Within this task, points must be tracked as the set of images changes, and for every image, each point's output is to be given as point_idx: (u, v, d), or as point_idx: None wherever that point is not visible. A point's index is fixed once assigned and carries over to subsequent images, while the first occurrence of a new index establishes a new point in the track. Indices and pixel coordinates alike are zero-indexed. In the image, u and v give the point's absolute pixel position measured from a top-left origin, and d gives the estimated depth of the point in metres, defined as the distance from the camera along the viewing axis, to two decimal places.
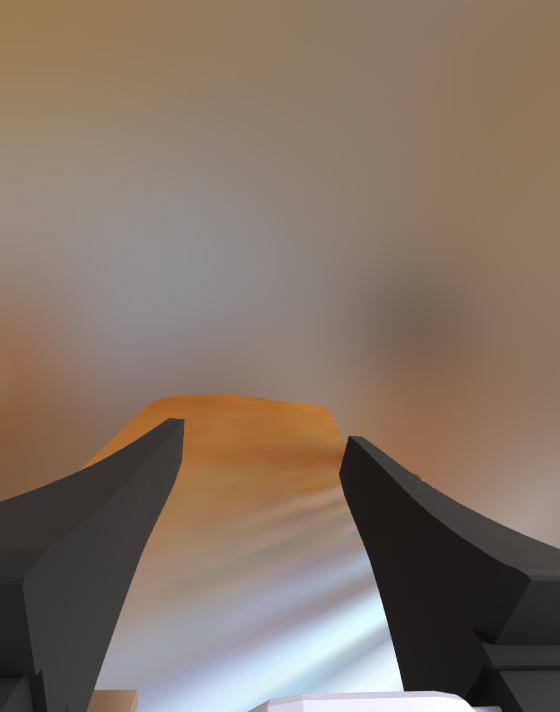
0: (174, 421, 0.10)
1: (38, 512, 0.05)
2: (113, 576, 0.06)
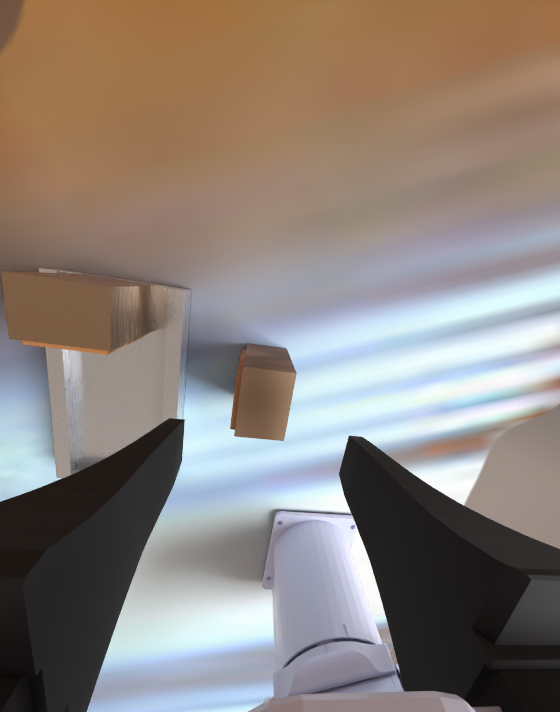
0: (174, 421, 0.10)
1: (39, 513, 0.05)
2: (113, 576, 0.06)
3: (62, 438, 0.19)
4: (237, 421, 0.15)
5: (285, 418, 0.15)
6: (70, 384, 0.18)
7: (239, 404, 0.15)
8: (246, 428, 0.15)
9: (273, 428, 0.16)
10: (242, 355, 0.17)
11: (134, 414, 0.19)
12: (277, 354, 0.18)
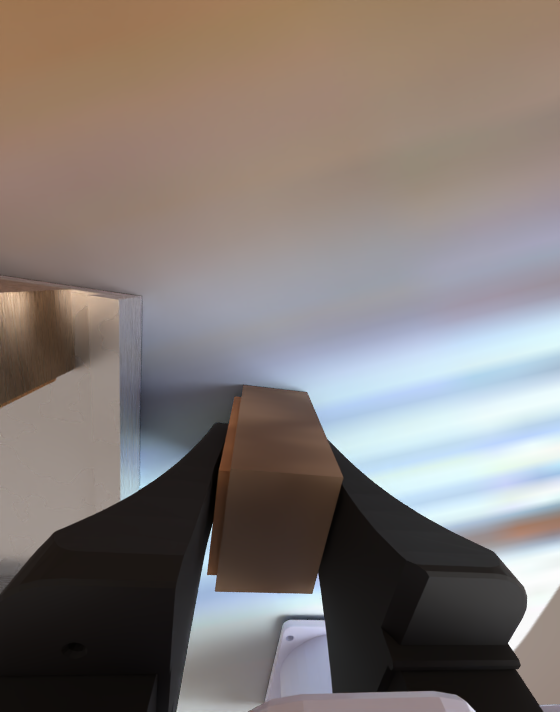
0: (223, 425, 0.10)
1: (148, 519, 0.05)
2: (195, 578, 0.06)
3: None
4: (220, 567, 0.08)
5: (317, 557, 0.08)
6: None
7: (224, 538, 0.07)
8: (239, 577, 0.08)
9: (292, 574, 0.08)
10: (234, 417, 0.10)
11: (52, 502, 0.12)
12: (295, 410, 0.10)
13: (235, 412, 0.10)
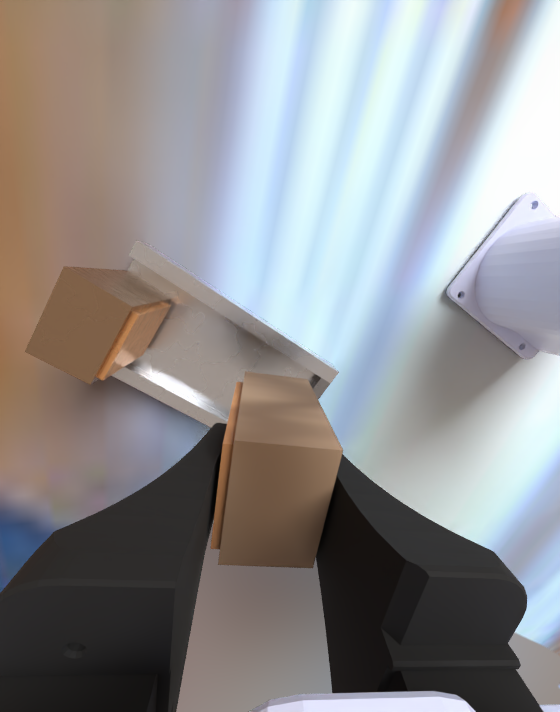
0: (223, 425, 0.10)
1: (148, 518, 0.05)
2: (195, 578, 0.06)
3: None
4: (224, 539, 0.08)
5: (317, 531, 0.08)
6: (193, 399, 0.19)
7: (227, 510, 0.07)
8: (241, 550, 0.08)
9: (293, 548, 0.08)
10: (236, 399, 0.10)
11: (248, 366, 0.18)
12: (296, 394, 0.10)
13: (237, 395, 0.10)
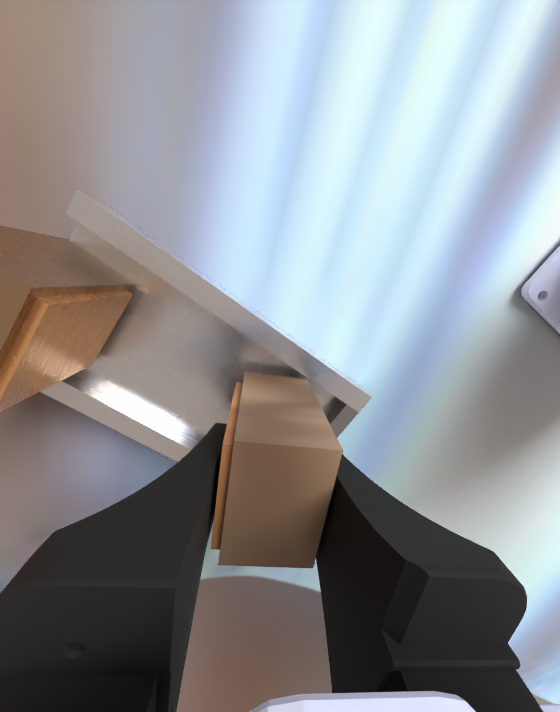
0: (223, 425, 0.10)
1: (149, 519, 0.05)
2: (195, 578, 0.06)
3: None
4: (224, 540, 0.08)
5: (317, 531, 0.08)
6: (166, 428, 0.13)
7: (227, 510, 0.07)
8: (241, 551, 0.08)
9: (294, 548, 0.08)
10: (236, 399, 0.10)
11: None
12: (296, 394, 0.10)
13: (237, 395, 0.10)
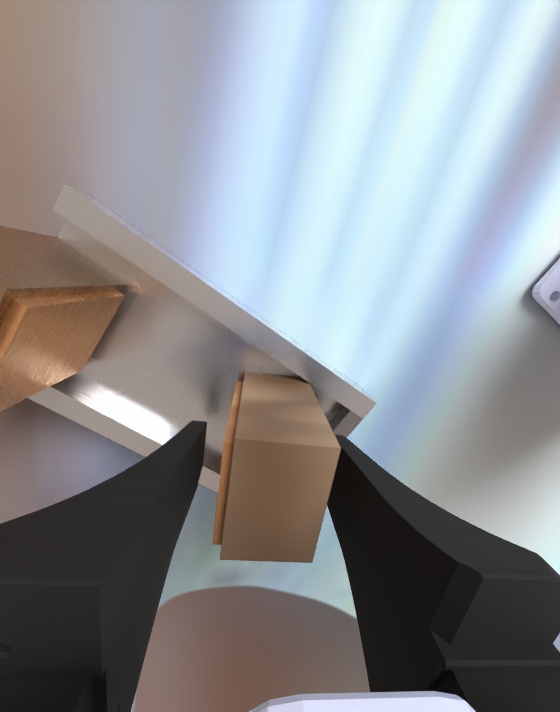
0: (198, 423, 0.10)
1: (93, 515, 0.05)
2: (153, 577, 0.06)
3: None
4: (225, 535, 0.08)
5: (316, 526, 0.08)
6: (161, 435, 0.13)
7: (228, 506, 0.08)
8: (242, 546, 0.08)
9: (293, 543, 0.08)
10: (237, 398, 0.10)
11: None
12: (296, 393, 0.11)
13: (238, 394, 0.10)
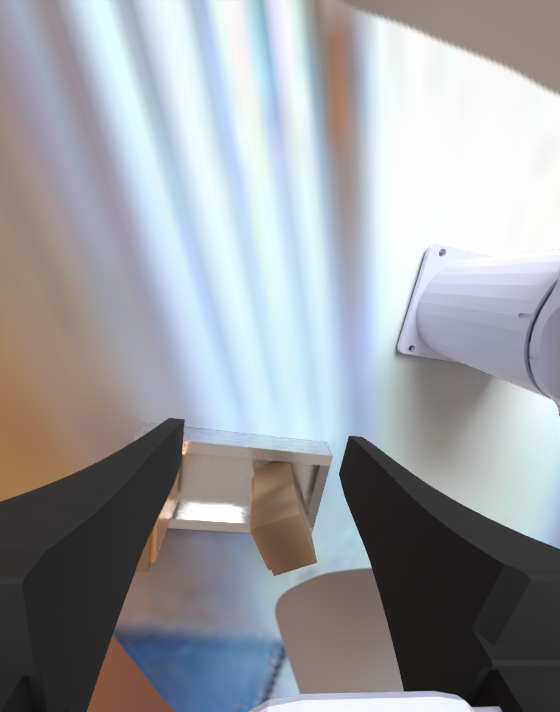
0: (174, 421, 0.10)
1: (38, 512, 0.05)
2: (113, 576, 0.06)
3: None
4: (270, 565, 0.17)
5: (309, 547, 0.17)
6: (228, 516, 0.22)
7: (265, 554, 0.17)
8: (281, 566, 0.17)
9: (303, 558, 0.17)
10: (252, 494, 0.19)
11: None
12: (281, 477, 0.19)
13: (253, 490, 0.20)
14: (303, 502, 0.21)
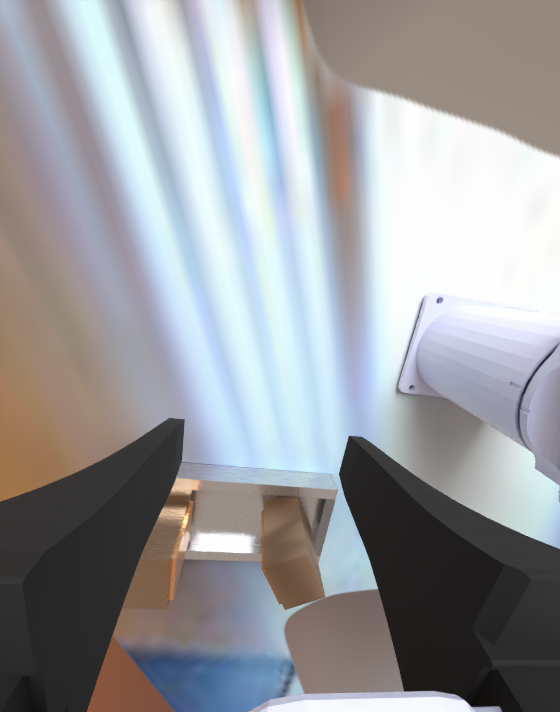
0: (174, 421, 0.10)
1: (39, 512, 0.05)
2: (113, 576, 0.06)
3: None
4: (281, 600, 0.18)
5: (317, 583, 0.18)
6: (239, 546, 0.23)
7: (276, 590, 0.18)
8: (291, 601, 0.18)
9: (312, 593, 0.18)
10: (263, 529, 0.20)
11: None
12: (290, 512, 0.21)
13: (263, 525, 0.21)
14: (310, 534, 0.22)
